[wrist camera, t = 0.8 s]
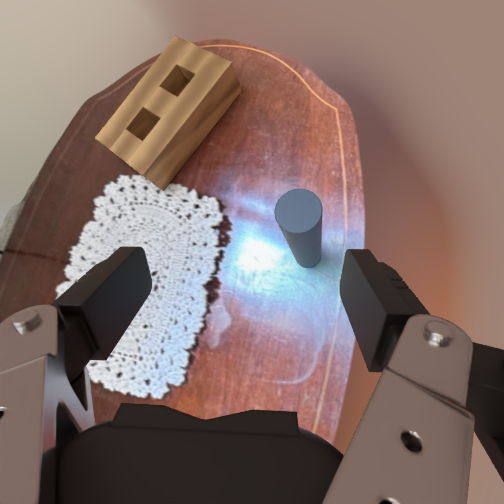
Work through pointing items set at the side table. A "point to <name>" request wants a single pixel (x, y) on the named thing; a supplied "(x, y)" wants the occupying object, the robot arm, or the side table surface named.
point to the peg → (301, 225)
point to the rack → (171, 111)
